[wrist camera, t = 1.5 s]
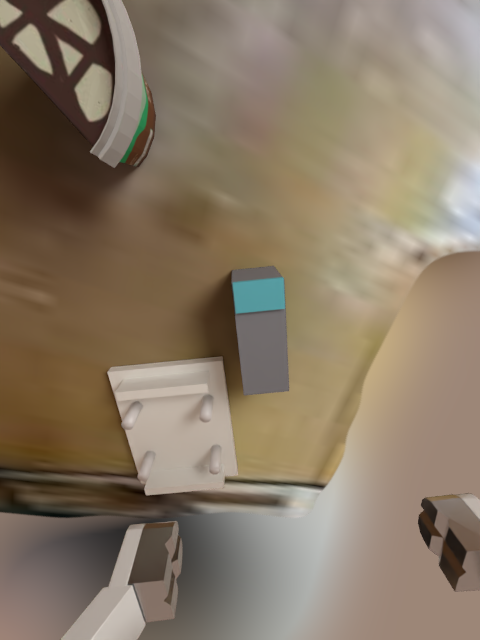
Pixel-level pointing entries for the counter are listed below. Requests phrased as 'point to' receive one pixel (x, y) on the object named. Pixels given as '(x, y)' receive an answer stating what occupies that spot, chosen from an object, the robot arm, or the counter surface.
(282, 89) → the counter surface
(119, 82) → the food container
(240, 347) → the block
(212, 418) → the pin tray
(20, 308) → the counter surface
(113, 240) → the counter surface
